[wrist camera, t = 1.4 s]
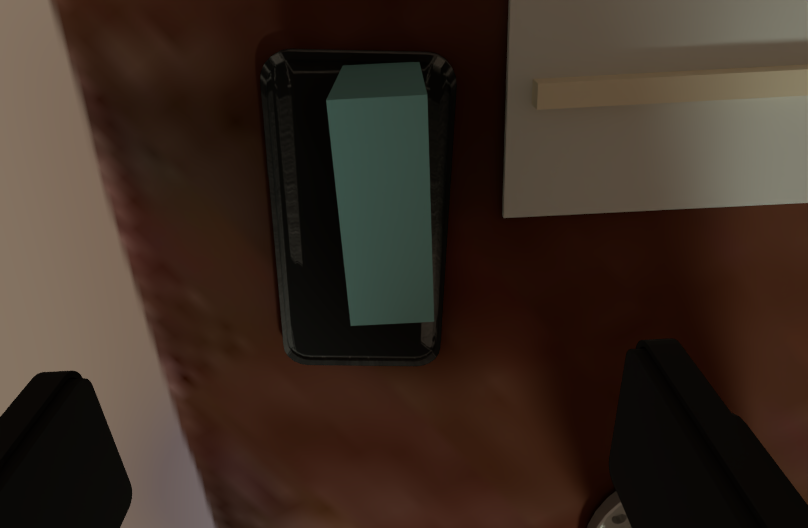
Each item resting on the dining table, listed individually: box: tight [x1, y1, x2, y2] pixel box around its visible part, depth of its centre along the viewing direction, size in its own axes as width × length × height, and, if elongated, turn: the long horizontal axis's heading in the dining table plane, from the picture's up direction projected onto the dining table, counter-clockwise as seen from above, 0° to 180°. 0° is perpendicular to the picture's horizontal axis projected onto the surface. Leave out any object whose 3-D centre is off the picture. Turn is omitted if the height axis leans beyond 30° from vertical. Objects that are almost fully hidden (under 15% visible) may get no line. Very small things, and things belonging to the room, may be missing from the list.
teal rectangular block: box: [326, 62, 434, 326], centre depth 22 cm, size 8×3×7 cm, turn 3°
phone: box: [260, 49, 457, 366], centre depth 27 cm, size 8×1×15 cm
